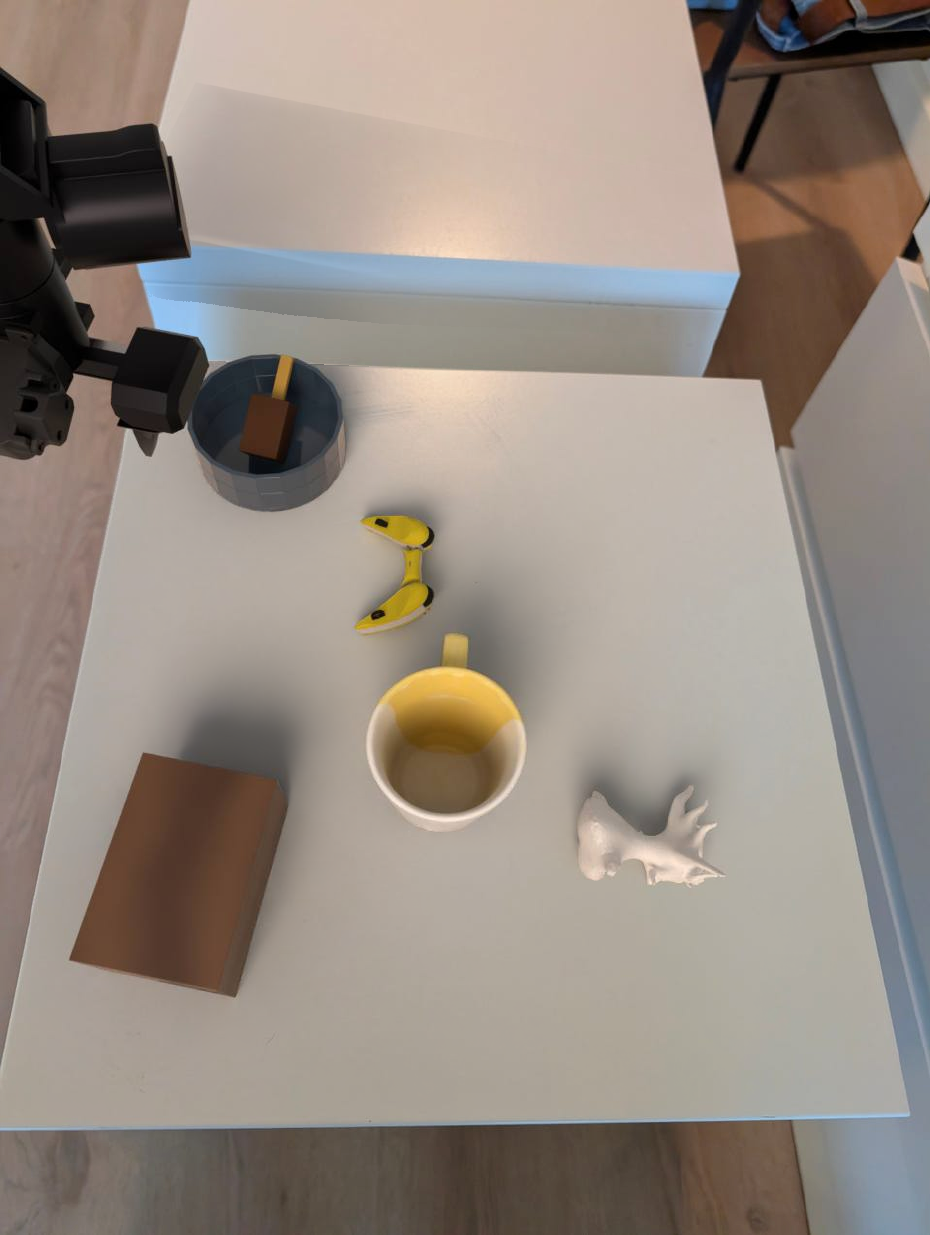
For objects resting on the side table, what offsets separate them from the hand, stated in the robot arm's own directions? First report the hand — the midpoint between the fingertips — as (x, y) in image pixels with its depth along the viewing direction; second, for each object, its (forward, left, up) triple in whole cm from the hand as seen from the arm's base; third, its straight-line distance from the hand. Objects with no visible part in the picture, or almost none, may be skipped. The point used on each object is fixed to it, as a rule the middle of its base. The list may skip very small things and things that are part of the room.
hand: (87, 438), depth 64 cm
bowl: (+9, +10, -12) cm, 18 cm away
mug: (+29, -14, -12) cm, 34 cm away
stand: (+14, -26, -12) cm, 32 cm away
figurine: (+44, -17, -12) cm, 49 cm away
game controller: (+22, 0, -12) cm, 25 cm away
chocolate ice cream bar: (+9, +12, -9) cm, 18 cm away
